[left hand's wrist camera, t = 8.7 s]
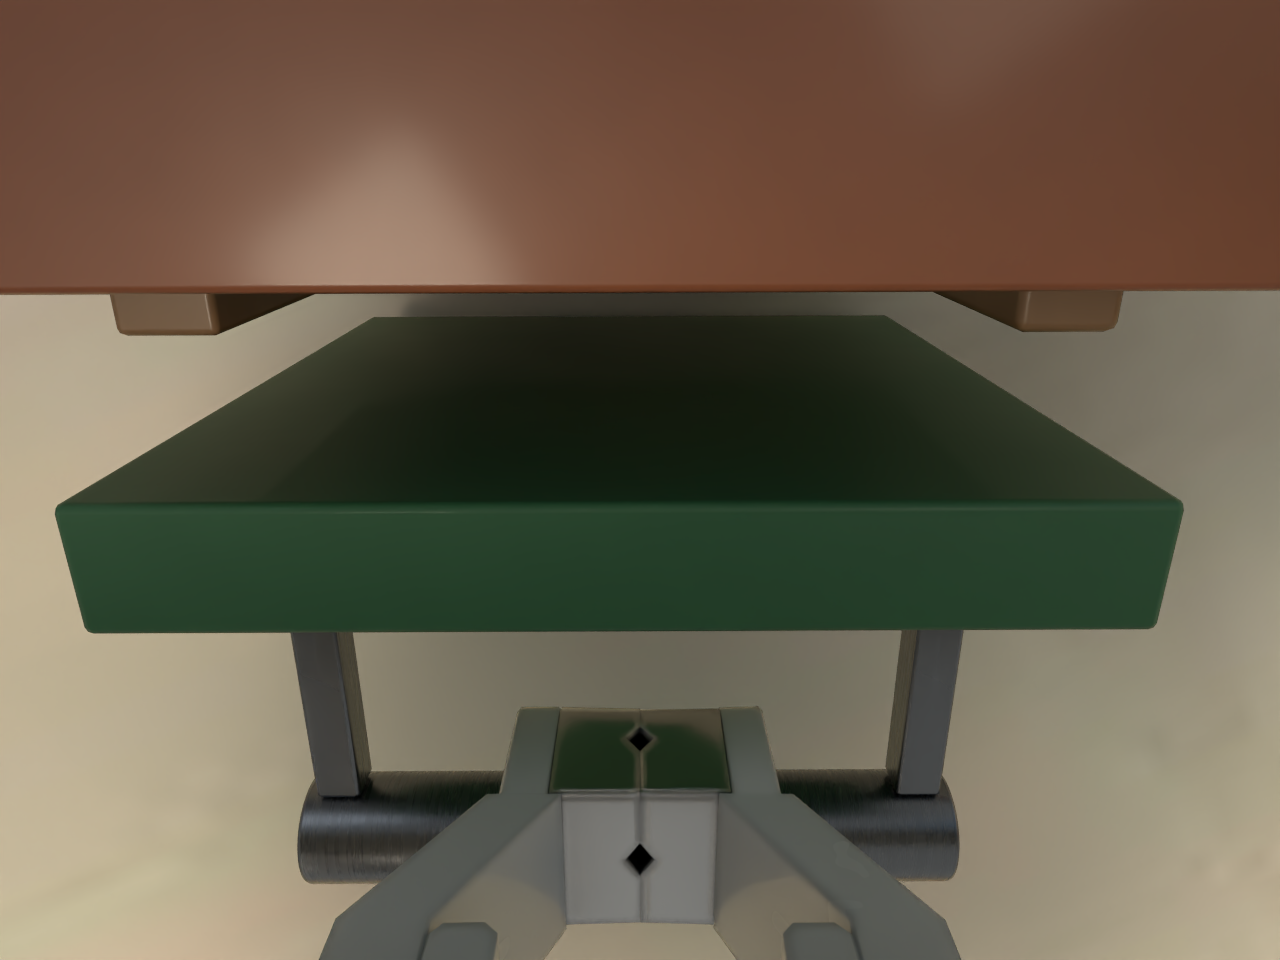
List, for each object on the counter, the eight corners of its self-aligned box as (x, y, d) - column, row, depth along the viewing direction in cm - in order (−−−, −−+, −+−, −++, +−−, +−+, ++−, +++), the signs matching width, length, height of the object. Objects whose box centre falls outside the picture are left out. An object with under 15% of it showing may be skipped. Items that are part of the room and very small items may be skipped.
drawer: (853, 654, 17) (1047, 1095, 9) (409, 655, 17) (205, 1098, 9) (976, -581, 11) (1985, -2783, 3) (269, -580, 11) (-831, -2786, 3)
